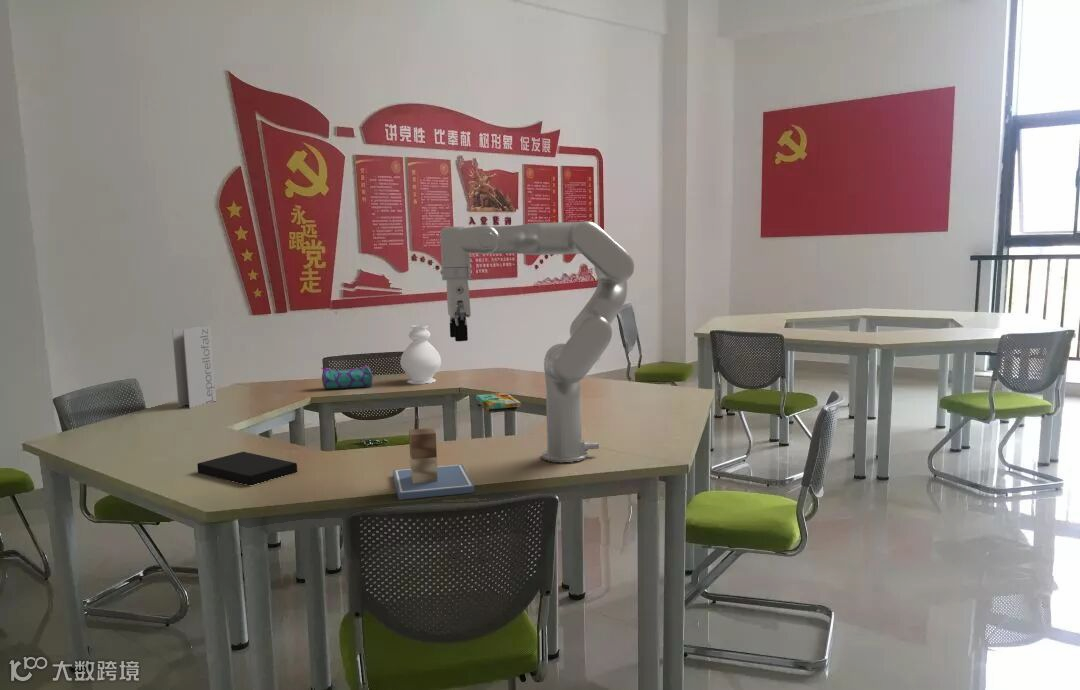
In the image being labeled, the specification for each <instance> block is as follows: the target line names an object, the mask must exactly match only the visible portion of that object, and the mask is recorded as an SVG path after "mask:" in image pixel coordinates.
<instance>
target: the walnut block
mask: <svg viewBox="0 0 1080 690" xmlns="http://www.w3.org/2000/svg"><path fill="white" fill-rule="evenodd" d="M408 436H409V438H408V440H409V456H410V455H411V458H412V459H422V458H434V457H437V455H438V454H437V453H438V452H437V433H436V430H435V429H434V427H429V428H428V427H427V428H415V429H408ZM437 458H438V457H437Z"/></svg>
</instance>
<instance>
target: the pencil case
mask: <svg viewBox="0 0 1080 690" xmlns="http://www.w3.org/2000/svg"><path fill="white" fill-rule="evenodd" d="M320 369H321V370H323V371H322V374H321V381H322V387H323V388H324V390H328V389H330V390H336V389H337V390H338V388H340V389H355V388H356V389H359V388H361V389H363V388H370V387H372V385H373V380H374V379H373V378H374V377H373V372H372V370H371V368H370V367H369V366H368V365H367V364H365V365H364V366H361V367H359V368H358V367H356V368H350V369H345V370H338V369H331V368H329V367H325V368H324V367H321V368H320Z"/></svg>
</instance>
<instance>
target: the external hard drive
mask: <svg viewBox="0 0 1080 690" xmlns="http://www.w3.org/2000/svg"><path fill="white" fill-rule="evenodd" d="M296 472H297V473H298V464H297V462H293V461H289V460H282V459H279V458H274V457H270V456H266V455H265V456H264V455H260V454H256V453H253V452H252V453H251V452H246V451H239V452H237V453H232V454H229V455H226V456H220V457H217V458H214V459H209V460H206V461H202V462H198V463H197V474H201V475H205V476H208V477H213V478H217V479H220V480H224V481H228V480H229V481H228V482H232V481H234V482H233V483H236V482H238V483H237V484H239V483H242V484H241V485H243V484H247V485H254V484H257V483H260V484H262V483H261V482H264V481H267V482H269V481H268V480H270V479H274V478H277V479H279V478H278V477H280V478H282V477H281V476H283V477H286V476H285V475H287V476H290V475H293V474H296ZM289 474H290V475H289ZM274 480H275V479H274ZM270 481H271V480H270ZM264 483H265V482H264ZM247 485H246V486H247ZM257 485H258V484H257ZM254 486H255V485H254Z"/></svg>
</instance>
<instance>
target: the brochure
mask: <svg viewBox="0 0 1080 690" xmlns="http://www.w3.org/2000/svg"><path fill="white" fill-rule="evenodd" d="M171 331H172V333H171V335H172V343H173V344H172V345H173V355H174V356H173V357H174V367H175V368H174V370H175V380H176V392H177V403H178V408H179V407H180V408H183V407H182V406H184V407H186V406H185V405H188V406H189V409H192V408H191V407H193V408H196V407H195V406H197V407H200V406H199V405H201V406H203V405H202V404H204V405H207V404H206V403H208V404H211V403H210V402H212V403H214V402H213V401H216V402H217V390H216V387H217V386H216V377H215V364H214V361H215V360H214V350H213V336H212V326H210V325H209V326H204V327H201V325H200V326H198V325H197V326H193V327H185V328H178V329H177V328H176V329H172V330H171Z"/></svg>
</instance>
